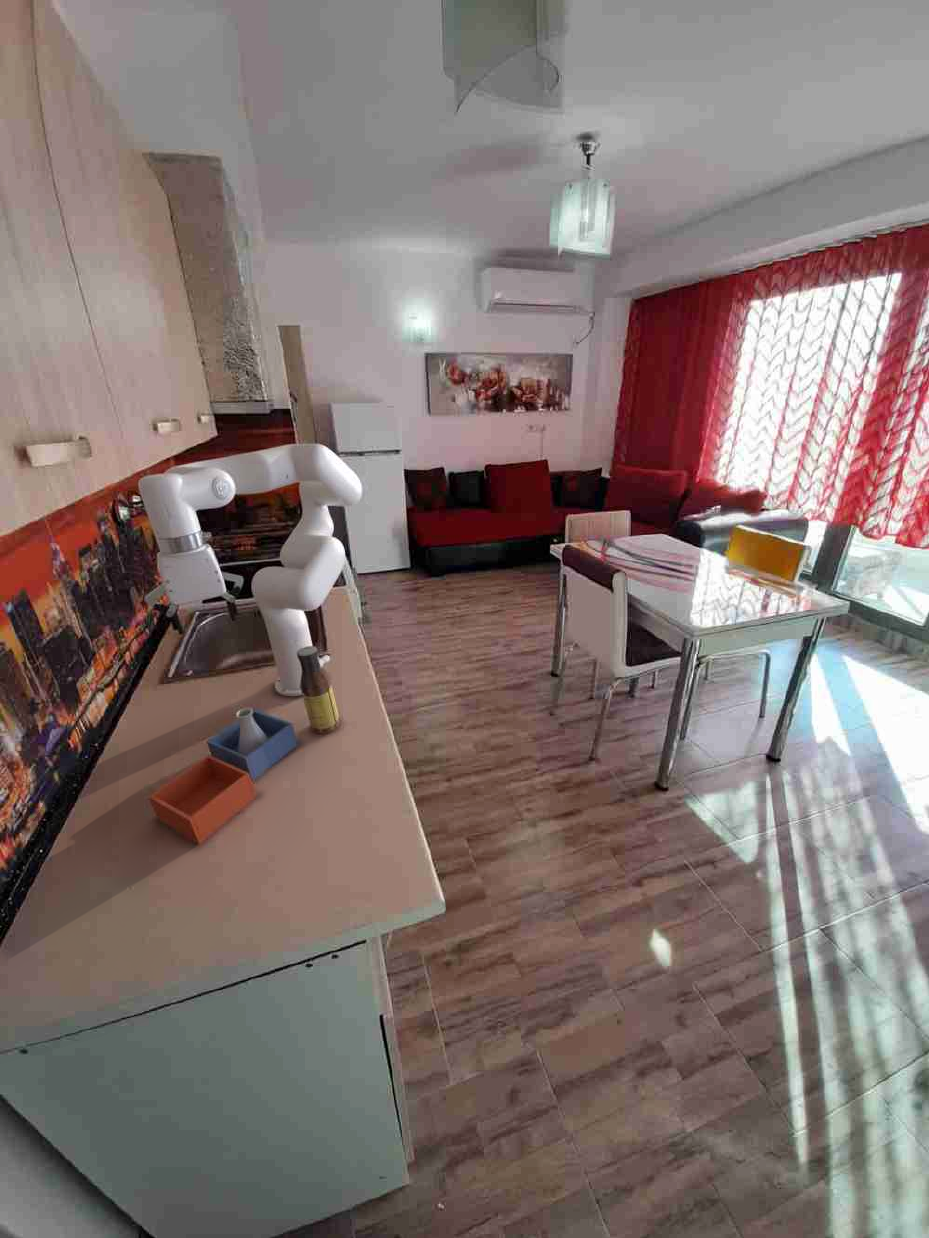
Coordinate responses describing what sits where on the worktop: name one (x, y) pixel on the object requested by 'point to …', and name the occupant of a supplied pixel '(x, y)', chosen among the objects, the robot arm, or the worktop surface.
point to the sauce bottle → (317, 692)
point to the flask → (249, 732)
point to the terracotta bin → (203, 798)
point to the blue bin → (262, 756)
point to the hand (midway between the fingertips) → (207, 625)
